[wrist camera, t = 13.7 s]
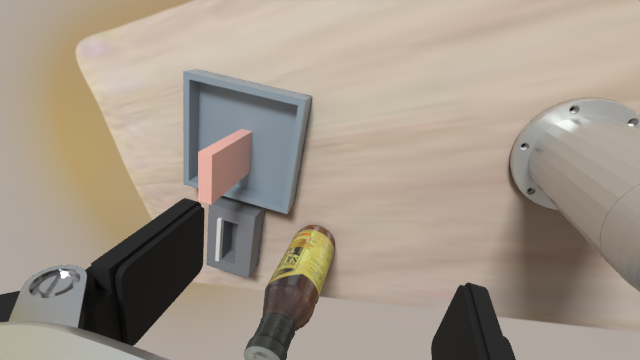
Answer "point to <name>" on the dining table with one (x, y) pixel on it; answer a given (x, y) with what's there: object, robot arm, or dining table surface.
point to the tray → (253, 115)
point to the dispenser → (234, 235)
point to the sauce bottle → (292, 293)
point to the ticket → (223, 165)
